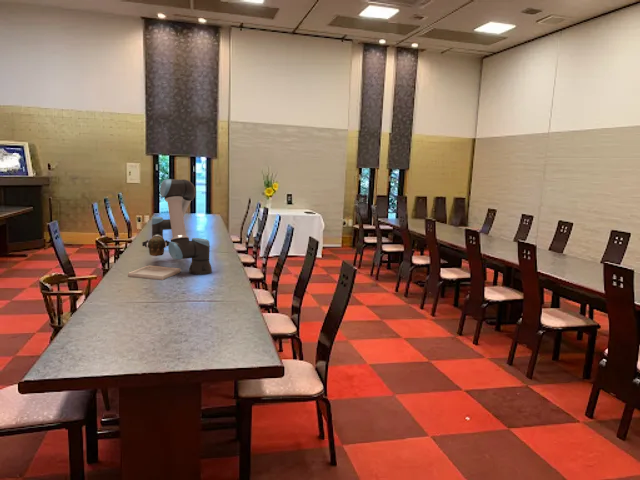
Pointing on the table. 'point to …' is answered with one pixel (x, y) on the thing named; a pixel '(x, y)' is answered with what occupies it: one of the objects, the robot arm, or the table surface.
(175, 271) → the tray
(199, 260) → the robot arm
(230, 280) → the table surface
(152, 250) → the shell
